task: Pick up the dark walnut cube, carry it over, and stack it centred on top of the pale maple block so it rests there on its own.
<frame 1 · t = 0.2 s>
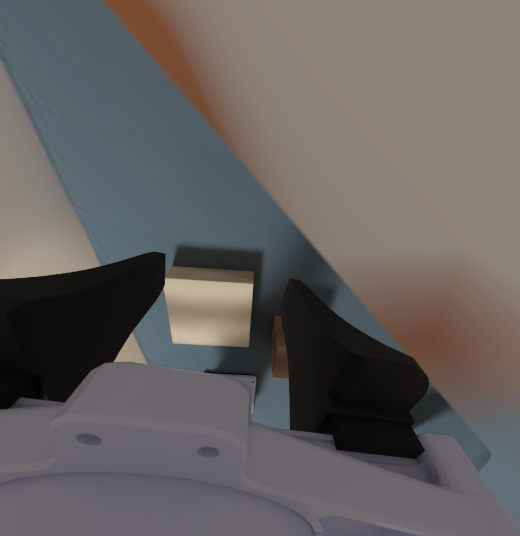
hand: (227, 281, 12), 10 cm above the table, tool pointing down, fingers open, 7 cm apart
maple block: (215, 299, 25), on the table
walnut cube: (291, 330, 27), on the table
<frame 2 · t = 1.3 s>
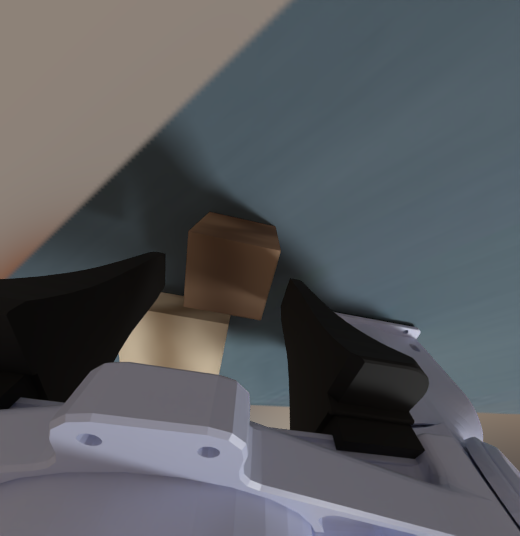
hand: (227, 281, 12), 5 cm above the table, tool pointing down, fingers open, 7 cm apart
maple block: (182, 329, 21), on the table
walnut cube: (237, 249, 17), on the table
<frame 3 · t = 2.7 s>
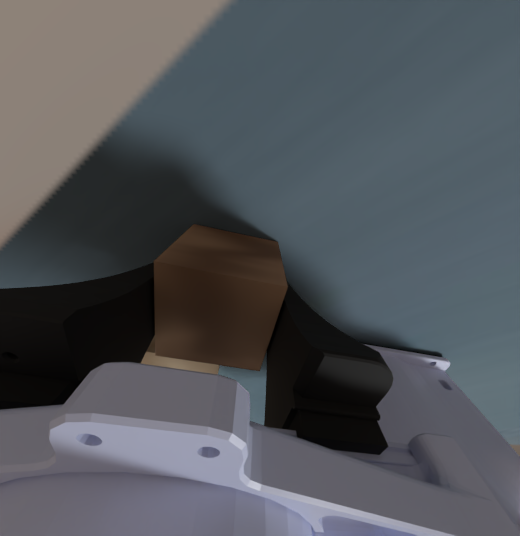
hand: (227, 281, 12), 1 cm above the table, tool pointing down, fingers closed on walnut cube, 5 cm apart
maple block: (167, 359, 18), on the table
walnut cube: (230, 269, 13), on the table, touching gripper
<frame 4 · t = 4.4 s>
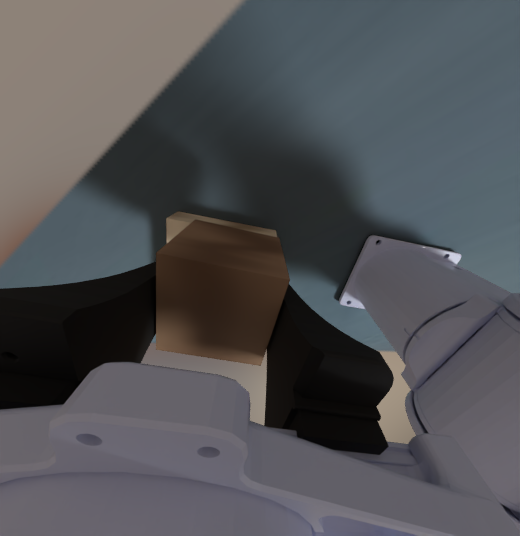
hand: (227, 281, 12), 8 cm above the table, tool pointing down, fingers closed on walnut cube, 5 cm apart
maple block: (223, 262, 21), on the table
walnut cube: (231, 265, 13), point 7 cm above the table, touching gripper
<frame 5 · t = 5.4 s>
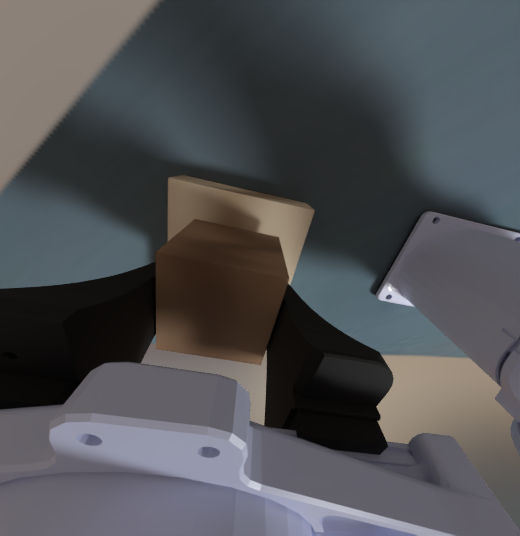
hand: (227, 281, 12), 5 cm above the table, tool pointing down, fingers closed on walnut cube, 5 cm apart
maple block: (237, 245, 17), on the table
walnut cube: (231, 265, 13), point 4 cm above the table, touching gripper
when the fingers open (5 cm above the table, at t = 6.1 s): walnut cube drops 1 cm, resting on maple block.
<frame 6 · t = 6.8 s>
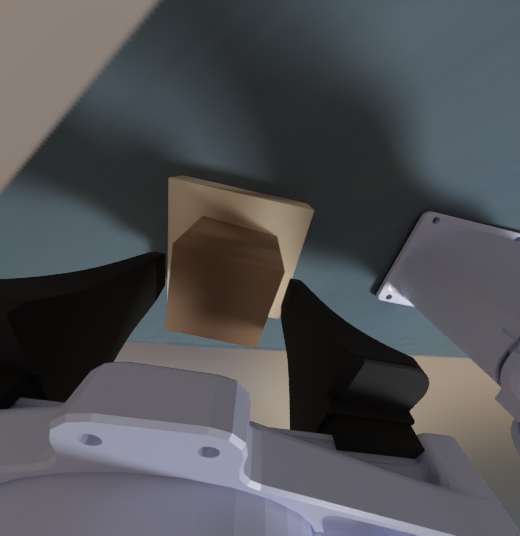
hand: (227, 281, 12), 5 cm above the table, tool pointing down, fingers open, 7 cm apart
maple block: (237, 244, 17), on the table, touching walnut cube
walnut cube: (232, 259, 15), point 2 cm above the table, touching maple block
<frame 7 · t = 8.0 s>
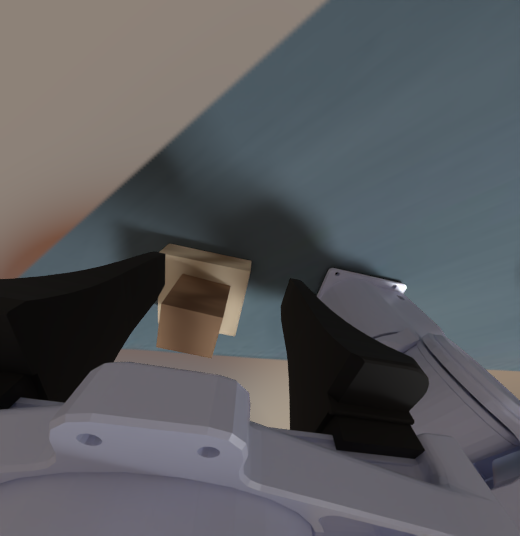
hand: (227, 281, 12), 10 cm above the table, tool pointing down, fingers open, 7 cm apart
maple block: (207, 284, 25), on the table, touching walnut cube
walnut cube: (202, 299, 22), point 2 cm above the table, touching maple block
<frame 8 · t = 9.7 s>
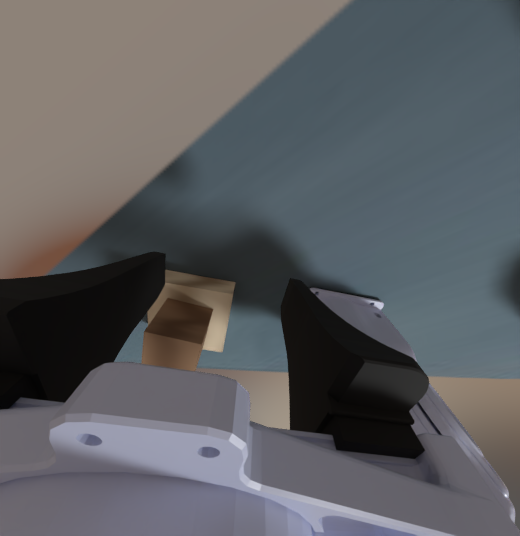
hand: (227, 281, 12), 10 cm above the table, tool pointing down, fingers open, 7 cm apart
maple block: (195, 303, 26), on the table, touching walnut cube
walnut cube: (187, 320, 24), point 2 cm above the table, touching maple block
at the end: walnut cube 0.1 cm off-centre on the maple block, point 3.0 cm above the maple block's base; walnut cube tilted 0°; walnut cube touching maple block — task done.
